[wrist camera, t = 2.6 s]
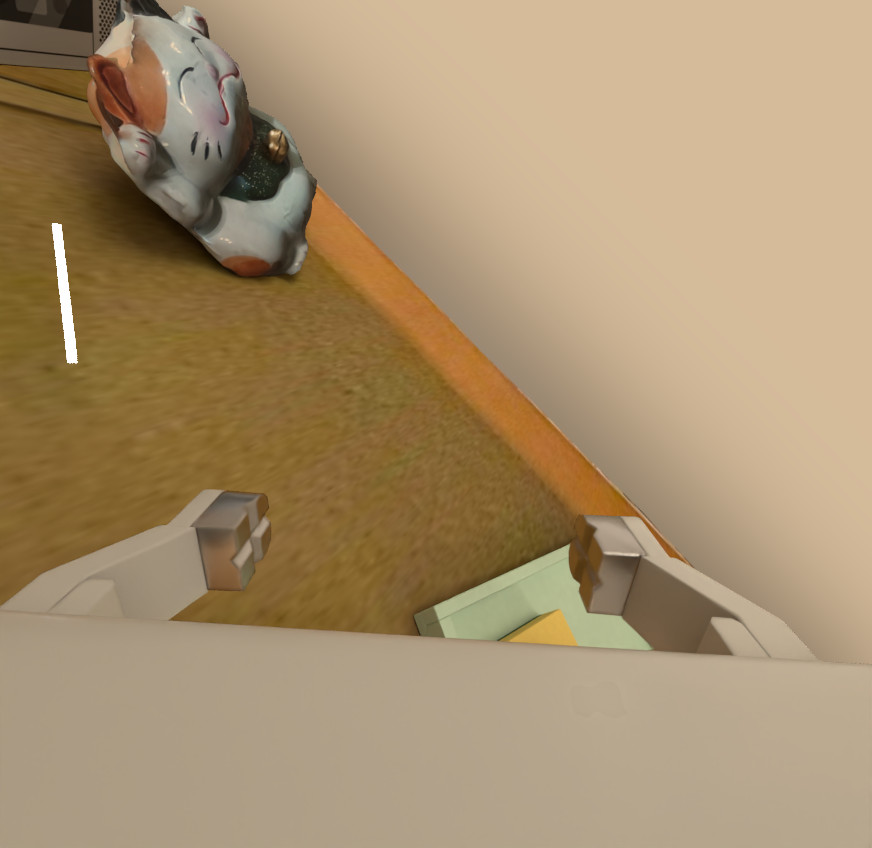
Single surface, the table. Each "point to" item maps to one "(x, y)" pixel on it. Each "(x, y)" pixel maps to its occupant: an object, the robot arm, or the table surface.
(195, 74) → the lucky cat figurine
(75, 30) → the cassette player
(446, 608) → the tray
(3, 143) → the table surface
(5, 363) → the table surface
